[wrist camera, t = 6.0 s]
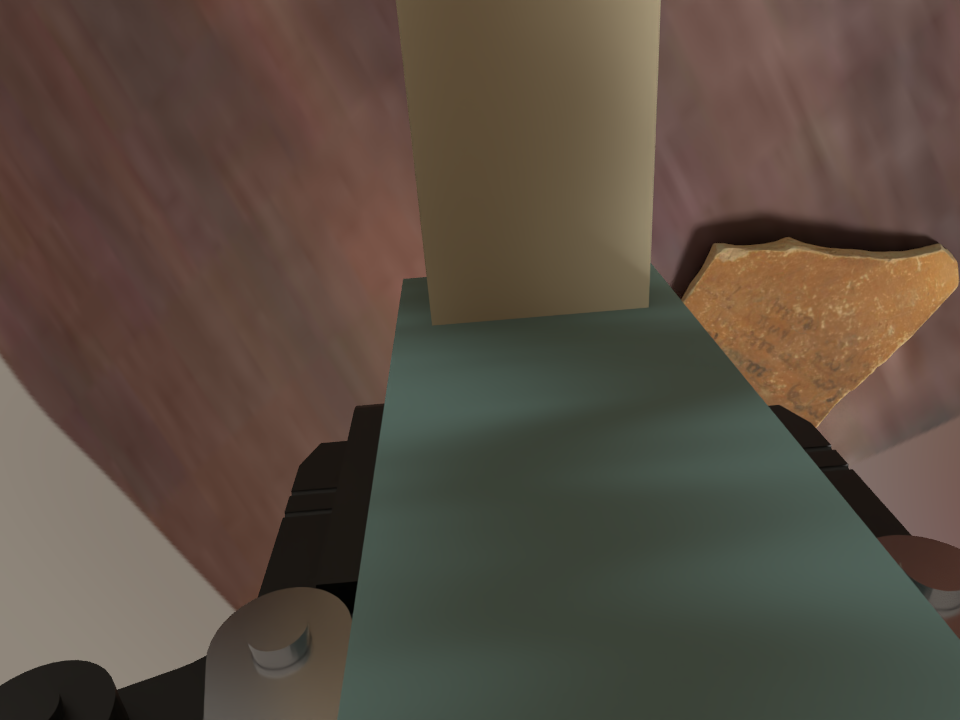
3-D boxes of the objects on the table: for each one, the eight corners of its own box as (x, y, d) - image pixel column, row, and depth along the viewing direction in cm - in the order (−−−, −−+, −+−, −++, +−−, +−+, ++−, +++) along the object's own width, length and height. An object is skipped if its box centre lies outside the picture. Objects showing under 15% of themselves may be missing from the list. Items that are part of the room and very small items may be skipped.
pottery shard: (957, 253, 30) (1000, 273, 28) (831, 428, 33) (860, 459, 31) (749, 158, 28) (777, 172, 25) (638, 357, 31) (654, 384, 29)
